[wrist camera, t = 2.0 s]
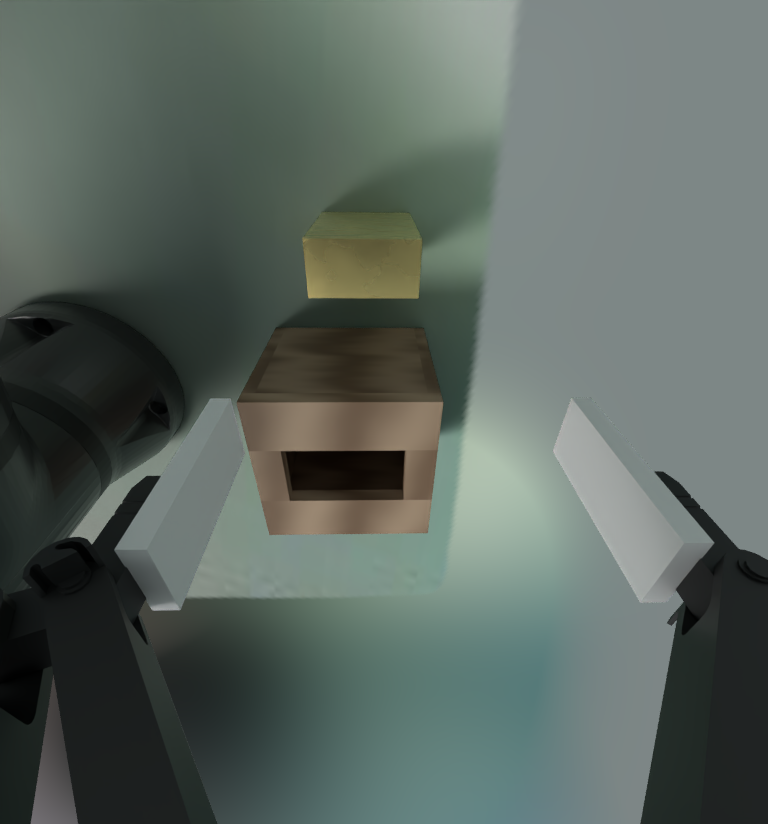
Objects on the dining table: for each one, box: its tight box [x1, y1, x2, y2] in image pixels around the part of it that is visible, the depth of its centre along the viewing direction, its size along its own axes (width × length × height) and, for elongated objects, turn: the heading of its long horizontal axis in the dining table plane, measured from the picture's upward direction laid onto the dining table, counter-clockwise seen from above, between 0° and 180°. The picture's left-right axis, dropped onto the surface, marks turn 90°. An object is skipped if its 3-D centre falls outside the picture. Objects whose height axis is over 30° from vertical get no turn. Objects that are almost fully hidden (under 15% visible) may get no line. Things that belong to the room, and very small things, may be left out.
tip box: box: [237, 328, 443, 535], centre depth 30 cm, size 12×12×11 cm
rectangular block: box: [302, 212, 422, 299], centre depth 24 cm, size 6×3×9 cm, turn 89°
